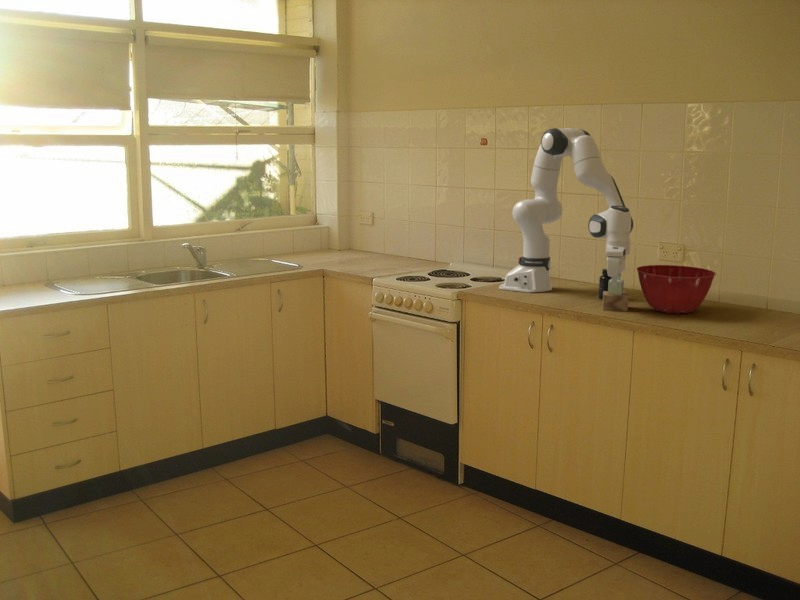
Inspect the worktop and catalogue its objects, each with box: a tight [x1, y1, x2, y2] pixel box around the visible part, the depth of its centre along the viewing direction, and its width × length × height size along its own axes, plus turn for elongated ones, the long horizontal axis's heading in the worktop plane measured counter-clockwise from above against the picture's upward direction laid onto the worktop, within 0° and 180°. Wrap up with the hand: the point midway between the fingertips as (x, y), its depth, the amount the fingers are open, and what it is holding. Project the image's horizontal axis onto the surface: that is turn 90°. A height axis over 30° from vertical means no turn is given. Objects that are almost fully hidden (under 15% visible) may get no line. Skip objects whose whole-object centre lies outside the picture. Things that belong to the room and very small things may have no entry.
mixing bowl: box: [636, 264, 717, 315], centre depth 311 cm, size 28×28×16 cm
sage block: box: [608, 279, 625, 295], centre depth 314 cm, size 5×5×5 cm
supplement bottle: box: [597, 268, 611, 300], centre depth 334 cm, size 7×7×12 cm
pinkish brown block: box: [602, 291, 629, 312], centre depth 315 cm, size 9×9×6 cm
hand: (615, 285), depth 314 cm, fingers open, 5 cm apart
